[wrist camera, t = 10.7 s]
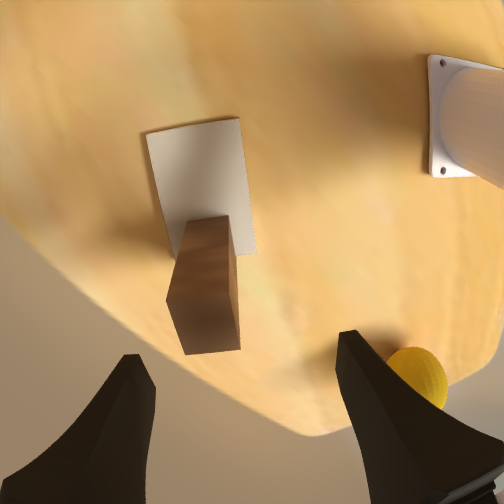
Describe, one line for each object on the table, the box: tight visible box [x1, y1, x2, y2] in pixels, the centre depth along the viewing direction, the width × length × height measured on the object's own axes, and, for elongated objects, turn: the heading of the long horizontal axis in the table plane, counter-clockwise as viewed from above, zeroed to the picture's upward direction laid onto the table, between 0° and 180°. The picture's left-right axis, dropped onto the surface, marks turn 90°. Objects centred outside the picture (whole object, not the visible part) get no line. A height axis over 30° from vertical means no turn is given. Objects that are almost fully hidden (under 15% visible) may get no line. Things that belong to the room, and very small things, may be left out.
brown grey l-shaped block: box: [146, 118, 257, 355], centre depth 15 cm, size 5×8×8 cm, turn 7°
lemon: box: [386, 347, 448, 409], centre depth 23 cm, size 6×6×8 cm
